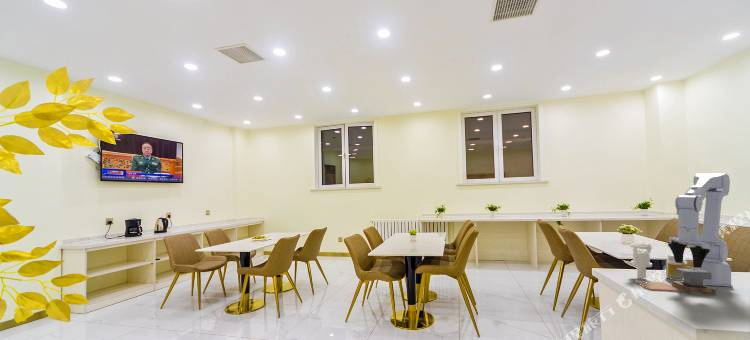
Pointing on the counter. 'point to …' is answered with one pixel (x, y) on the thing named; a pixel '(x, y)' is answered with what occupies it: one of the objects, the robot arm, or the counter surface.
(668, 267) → the supplement bottle
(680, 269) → the dark grey block
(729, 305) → the counter surface
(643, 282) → the terracotta coaster
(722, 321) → the counter surface
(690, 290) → the walnut holder
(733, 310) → the counter surface
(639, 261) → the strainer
